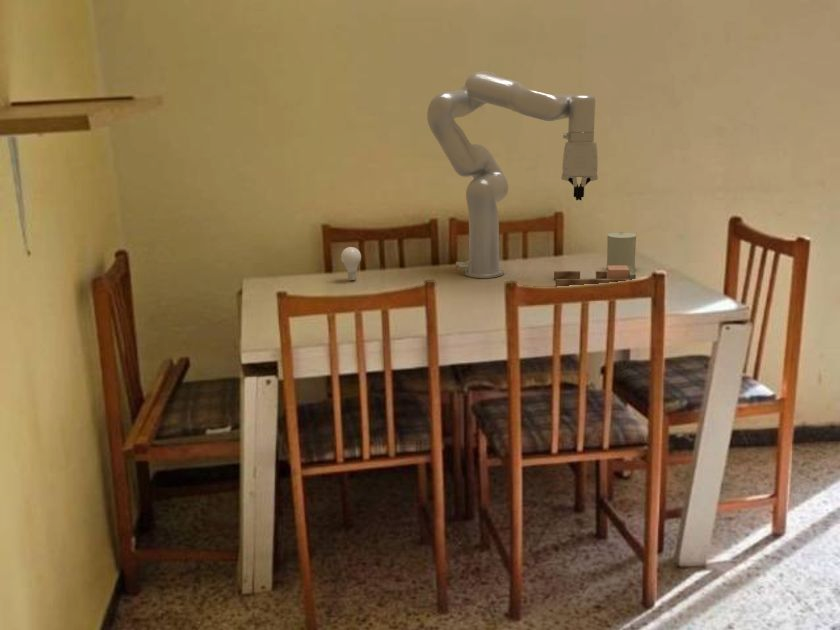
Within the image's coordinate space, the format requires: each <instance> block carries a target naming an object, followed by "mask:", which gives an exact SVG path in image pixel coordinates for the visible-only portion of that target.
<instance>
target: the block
mask: <svg viewBox="0 0 840 630" xmlns="http://www.w3.org/2000/svg"><path fill="white" fill-rule="evenodd" d="M606 268H607V270H606V271H607V279H629V268H628V267H627V265H618V266H607V265H606Z"/></svg>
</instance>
